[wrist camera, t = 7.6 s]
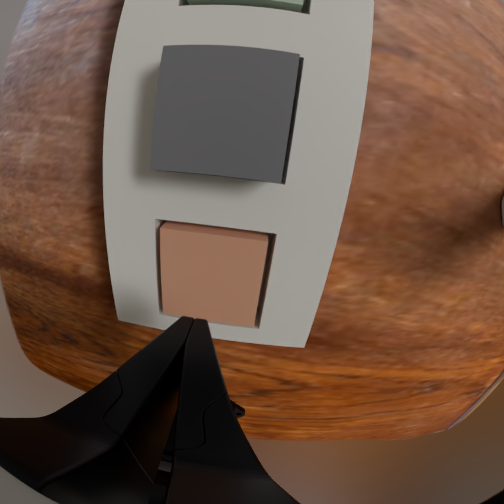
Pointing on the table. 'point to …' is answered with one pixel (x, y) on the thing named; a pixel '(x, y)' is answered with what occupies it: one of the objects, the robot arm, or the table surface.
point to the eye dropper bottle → (503, 210)
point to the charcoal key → (223, 111)
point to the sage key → (255, 3)
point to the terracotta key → (211, 271)
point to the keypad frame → (231, 188)
